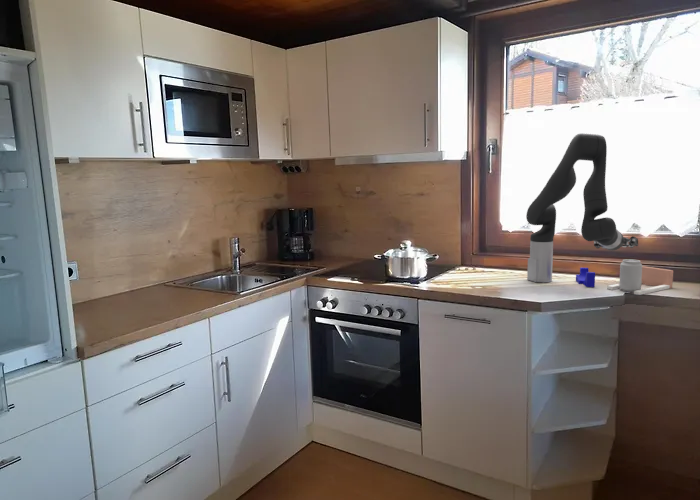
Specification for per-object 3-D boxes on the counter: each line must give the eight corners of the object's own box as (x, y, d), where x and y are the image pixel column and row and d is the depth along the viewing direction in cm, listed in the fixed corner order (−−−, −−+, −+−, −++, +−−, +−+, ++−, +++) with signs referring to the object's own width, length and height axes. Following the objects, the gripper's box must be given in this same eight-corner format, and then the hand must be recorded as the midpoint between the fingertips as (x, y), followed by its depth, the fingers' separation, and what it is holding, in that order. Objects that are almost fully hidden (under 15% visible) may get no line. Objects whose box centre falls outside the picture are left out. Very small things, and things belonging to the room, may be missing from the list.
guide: (639, 295, 195) (640, 276, 194) (607, 288, 206) (608, 271, 205) (672, 287, 206) (673, 270, 205) (640, 282, 217) (641, 265, 216)
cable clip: (575, 281, 222) (576, 267, 222) (586, 281, 222) (587, 267, 221) (582, 287, 211) (583, 272, 210) (594, 287, 210) (595, 272, 209)
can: (620, 291, 201) (621, 261, 199) (618, 287, 207) (619, 258, 206) (642, 293, 198) (644, 262, 196) (639, 289, 205) (641, 259, 203)
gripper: (631, 226, 183) (640, 234, 195) (588, 229, 191) (599, 237, 204) (632, 247, 181) (641, 254, 194) (588, 249, 190) (599, 256, 203)
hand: (619, 245), depth 199 cm, fingers open, 8 cm apart
